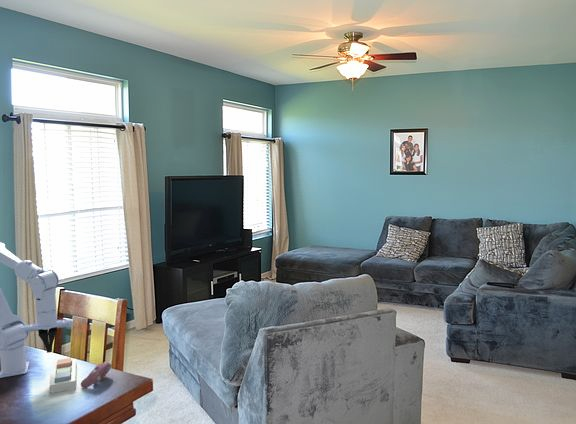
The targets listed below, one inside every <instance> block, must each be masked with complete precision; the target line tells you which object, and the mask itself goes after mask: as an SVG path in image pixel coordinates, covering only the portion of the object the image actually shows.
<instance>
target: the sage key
mask: <svg viewBox="0 0 576 424" xmlns="http://www.w3.org/2000/svg"><path fill="white" fill-rule="evenodd" d="M66 371H70V373H71V367H68V368H62V369H57V373H60V372H66Z"/></svg>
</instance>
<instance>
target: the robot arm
mask: <svg viewBox="0 0 576 424" xmlns="http://www.w3.org/2000/svg"><path fill="white" fill-rule="evenodd" d="M0 263H1V264H2V265H5V266H6V267H8V268H10V269H11V270H14V274H15V276H16V277H18V278H19V279H21V280H22V281H24V282H26V283H28V285H29V288H30V290H31V291H32V296H33V297H34V298H35V299H34V300H35V312H36V322H35V323H30V324H27V323H26V322H24V320H23V318H22V317H21V316H20V315H17V314H13V312H12V310H11V307H10V305H9V302H8V301H7V299H6V297H5V295H4V292H3V290H2V288H1V287H0V367H1V370H0V379H2V378H8V377H12V376H19V375H23V374H25V375H26V374H27V373H28V370H29V366H30V361H27V357H26V346H25V344H26V343H27V338H29V336H30V332H31V333H32V332H38V334H37V335H38V337H39V338H40V339H41V341H42V343H43V344H44V347H45V350H46V353H53V345H54V341H55V338H56V335H57V332H58V329H60V328H61V329H62V328H73V327H74V319H73V318H72V319H58V311H57V300H56V298H57V297H56V287H57V286H58V285H59V280H60V279H59V276H58V274H57V273H56V272H55V271H54V270H51V269H48V270H46V269H43V268H42V267H40V266H38V265H36V264H35V263H33V261H32V260H30V259H29V260H27V259H25V260H22V259H20V258H19V257H18V256H16V255H15V254H14V253H12V252H11V251H9V250H8V249H7V246H6V244H5V243H3V242H2V241H0Z"/></svg>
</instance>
